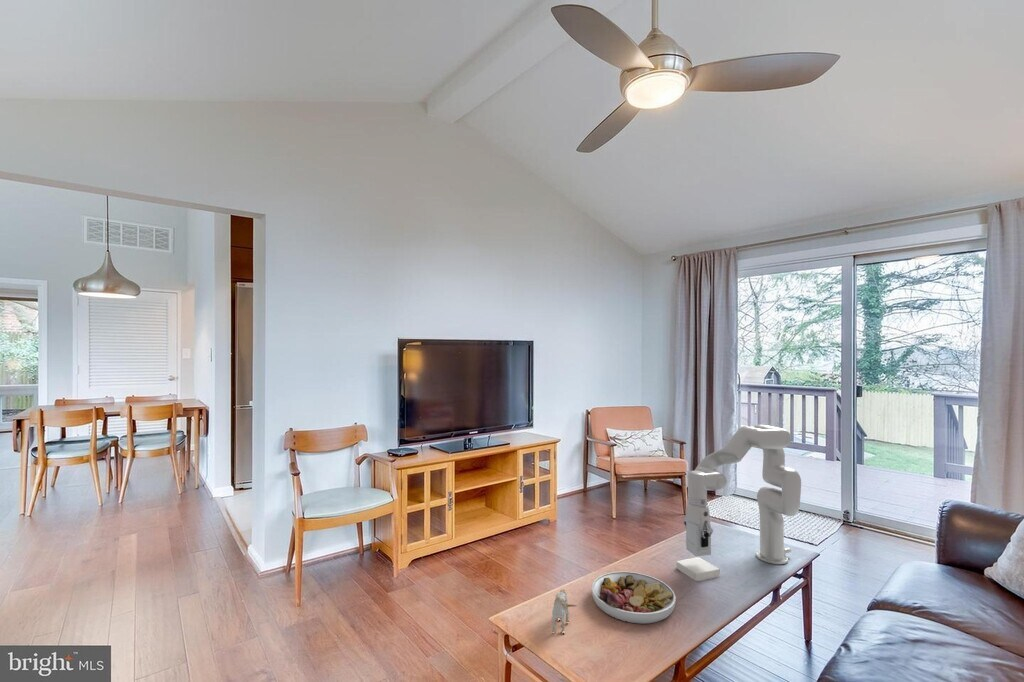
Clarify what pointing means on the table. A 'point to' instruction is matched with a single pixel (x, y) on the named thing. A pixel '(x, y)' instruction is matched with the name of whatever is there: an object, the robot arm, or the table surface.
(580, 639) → the table surface
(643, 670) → the table surface
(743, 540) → the table surface
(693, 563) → the plinth
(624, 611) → the bowl
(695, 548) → the supplement box
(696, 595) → the table surface
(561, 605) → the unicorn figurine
